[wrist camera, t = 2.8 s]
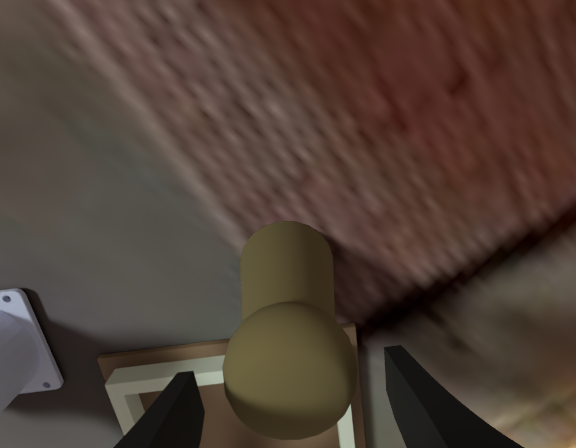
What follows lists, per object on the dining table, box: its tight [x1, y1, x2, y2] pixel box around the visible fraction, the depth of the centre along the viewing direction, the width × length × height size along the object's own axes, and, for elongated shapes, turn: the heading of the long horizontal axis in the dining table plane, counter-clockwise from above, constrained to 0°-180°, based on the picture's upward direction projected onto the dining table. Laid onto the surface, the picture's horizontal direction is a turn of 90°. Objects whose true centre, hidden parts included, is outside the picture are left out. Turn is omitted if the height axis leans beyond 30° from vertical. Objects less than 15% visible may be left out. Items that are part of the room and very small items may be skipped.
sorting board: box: [97, 323, 366, 448], centre depth 27 cm, size 18×18×1 cm
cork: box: [222, 221, 358, 440], centre depth 17 cm, size 6×6×11 cm
